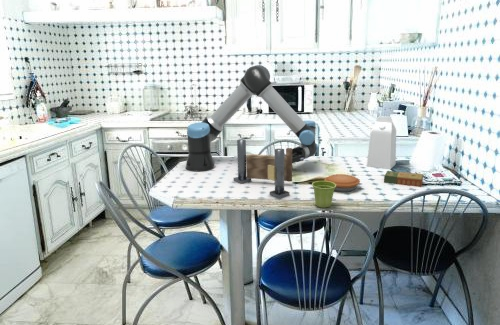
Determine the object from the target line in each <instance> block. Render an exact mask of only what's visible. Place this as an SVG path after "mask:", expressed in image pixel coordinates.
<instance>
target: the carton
mask: <svg viewBox="0 0 500 325" xmlns="http://www.w3.org/2000/svg"><path fill="white" fill-rule="evenodd" d="M423 181H424V174H423V173H414V172H413V173H412V172H404V171H403V172H402V171H393V170H387V171H386V173H385V174H384V176H383V183H384V184H390V185H391V184H392V185H400V186H401V185H402V186H407V187H408V186H409V187H418V188H421V187H422V184H423Z"/></svg>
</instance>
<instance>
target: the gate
mask: <svg viewBox="0 0 500 325" xmlns="http://www.w3.org/2000/svg"><path fill="white" fill-rule="evenodd" d="M292 149H293V148H292V147H286V148H285V154H286V156H284V182H292V181H293V163H292ZM268 165H272V166H275V154H274V155H272V154H271V155H270V154H254V153H252V154H251V153H246V176H247V178H251V180H252V179H253V180H254V179H255V180H269V181H271V180H270V179H268Z"/></svg>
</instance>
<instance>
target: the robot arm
mask: <svg viewBox="0 0 500 325" xmlns="http://www.w3.org/2000/svg"><path fill="white" fill-rule="evenodd" d="M270 80H271V74H270V71H269V69H268V68H267V67H265V66H264V65H262V64H256V65H253V66H250V67H249V68H247V69H246V71H245V73H244V76H242V77H241V79H240V80H239V82H240V84H238V86H237V87H236V89H235V90H233V92H231V94H230V95H229V96H228V97H227V98H226V99H225V100H224V101H223V102H222V104H220V106H219V107H218V108H217V109H216V110H215V111H214V112H213V113H212V114H211V115H207V116H206V117H204V119H203V120H202V121H201V122H200V121H199V122H194V123H190V124H189V125H188V126H187V130H186V134H187V149H188V156H187V159H186V163H185V168H186V170H187V171H190V172H207V171H210V170H213V169H214V168H215V166H216V165H215V160H214V158H213V156H212V153H211V149H212V148H211V143H212V142H213V141H215V140H216V139H217V138H218V136H219V135H220V134H221V133H222V132H223V130H224V125H226V124H227V122H228V121H229V120H231V118H232V117H233V116H234V115H235V114H236V113H237V112H238V111H239V110H240V109H241V108H242V107H243V106H244V105H245V103H246V102H247V101H249V99H250V98H251V97H252V96H257V98H261V99H262V100H263V101H264V102H265V103H266V104H267V106H268V107H270V109H272V111H273V112H274V113H275V114H276V116H278V117H279V118H280V120H282V122H283V123H284V124H285V125H286V126H287V127H288V128H289V130H291V132H293V134H295V136H296V137H297V138H298V140H299V142H300V145H298V146H296V147H293V148H292V164H295V163H300V162H303V161H304V160H306V159H308V158H310V157H313V156H314V155H316V154H317V153H318V150H319V147H318V144H317V143H316V127H317V126H316V122H315V121H314V120H303V119H302V118H301V117H300V116H299V114H298V113H297V112H296V111H295V110H294V108H292V107H291V106H290V105H289V103H287V101H286V100H285V99H284V98H283V97H282V95H281V94H280V93H279V92H278V91H277V90H276V89H275V88H274V87H273V83H272V82H271V81H270ZM284 156H286V152H284Z"/></svg>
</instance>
